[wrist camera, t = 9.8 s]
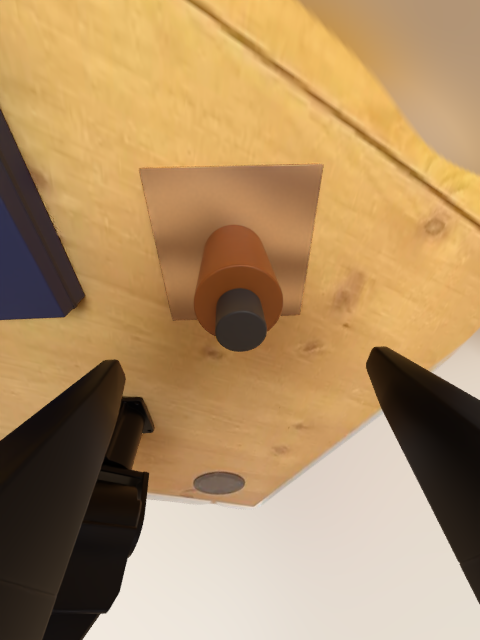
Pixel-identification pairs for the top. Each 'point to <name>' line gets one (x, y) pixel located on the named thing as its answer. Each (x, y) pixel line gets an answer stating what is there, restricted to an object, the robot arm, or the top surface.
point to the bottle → (237, 289)
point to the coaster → (232, 221)
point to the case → (29, 246)
